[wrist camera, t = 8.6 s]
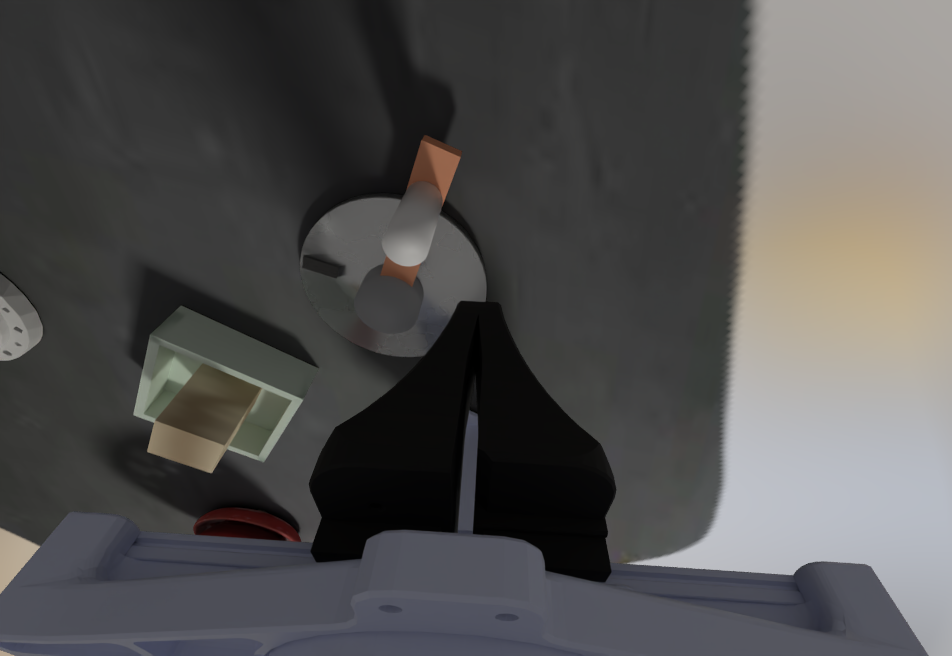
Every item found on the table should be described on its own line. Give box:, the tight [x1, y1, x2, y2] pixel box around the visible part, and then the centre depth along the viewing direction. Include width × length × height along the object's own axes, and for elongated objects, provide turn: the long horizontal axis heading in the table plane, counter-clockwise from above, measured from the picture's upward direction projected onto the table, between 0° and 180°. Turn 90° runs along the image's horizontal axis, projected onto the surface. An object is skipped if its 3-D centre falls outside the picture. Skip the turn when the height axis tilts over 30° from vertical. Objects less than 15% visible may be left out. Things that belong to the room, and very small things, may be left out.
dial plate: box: [300, 193, 487, 357], centre depth 24 cm, size 11×11×1 cm
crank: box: [354, 135, 462, 334], centre depth 19 cm, size 11×4×6 cm, turn 158°
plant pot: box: [193, 507, 301, 542], centre depth 42 cm, size 13×13×12 cm
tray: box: [134, 306, 319, 462], centre depth 30 cm, size 10×10×3 cm
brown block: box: [147, 363, 262, 473], centre depth 28 cm, size 4×4×6 cm
